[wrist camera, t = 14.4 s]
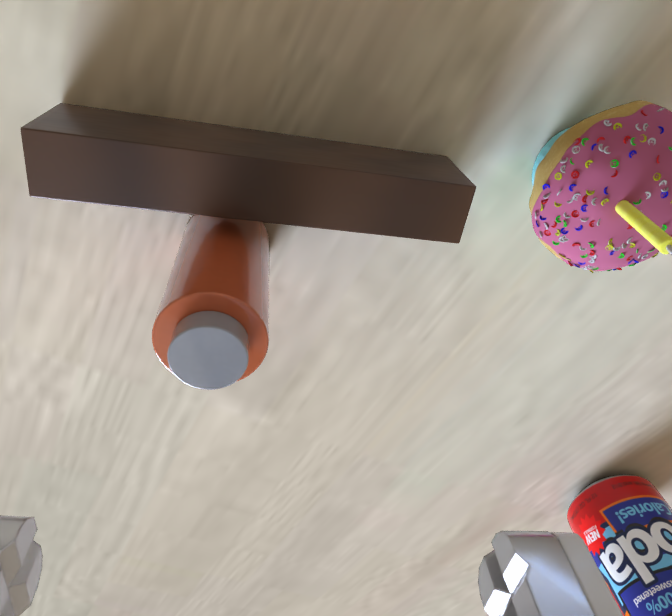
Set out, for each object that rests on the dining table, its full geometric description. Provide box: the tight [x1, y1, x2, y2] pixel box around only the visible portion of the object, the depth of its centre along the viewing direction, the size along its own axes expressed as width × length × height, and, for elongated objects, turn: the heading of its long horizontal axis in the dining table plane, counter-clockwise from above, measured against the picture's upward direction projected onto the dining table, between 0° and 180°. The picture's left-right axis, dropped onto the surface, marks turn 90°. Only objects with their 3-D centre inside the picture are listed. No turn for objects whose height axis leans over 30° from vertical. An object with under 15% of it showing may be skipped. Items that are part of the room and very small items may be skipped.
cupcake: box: [529, 100, 672, 273], centre depth 26 cm, size 9×8×12 cm
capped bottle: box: [152, 215, 269, 390], centre depth 26 cm, size 5×5×11 cm
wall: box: [21, 103, 476, 243], centre depth 27 cm, size 20×3×5 cm, turn 81°
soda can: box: [567, 475, 672, 616], centre depth 41 cm, size 8×8×15 cm
